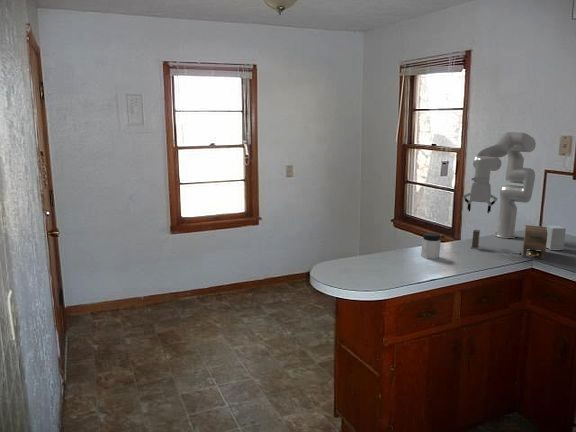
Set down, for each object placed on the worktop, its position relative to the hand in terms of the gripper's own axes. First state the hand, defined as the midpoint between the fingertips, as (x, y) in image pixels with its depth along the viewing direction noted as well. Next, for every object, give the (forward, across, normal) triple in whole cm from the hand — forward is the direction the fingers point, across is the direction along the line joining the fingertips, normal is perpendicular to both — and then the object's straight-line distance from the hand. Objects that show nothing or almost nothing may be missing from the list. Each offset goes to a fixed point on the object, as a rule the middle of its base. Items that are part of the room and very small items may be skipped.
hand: (478, 212), depth 265 cm
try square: (+21, +10, 0) cm, 23 cm away
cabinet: (+20, +29, +3) cm, 35 cm away
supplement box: (+20, +39, +20) cm, 48 cm away
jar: (+21, -19, -30) cm, 41 cm away
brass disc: (+21, +29, 0) cm, 36 cm away
